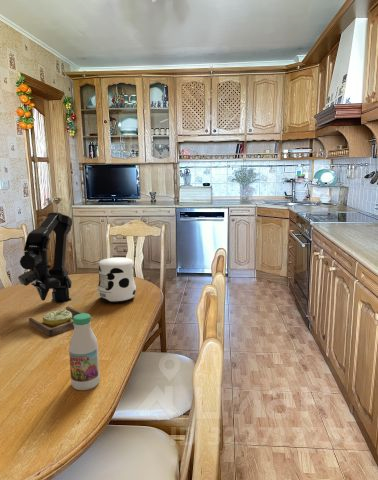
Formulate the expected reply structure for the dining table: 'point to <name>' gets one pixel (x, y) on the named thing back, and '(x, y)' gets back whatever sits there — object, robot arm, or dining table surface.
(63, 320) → the decorated donut
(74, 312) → the u-shaped brown rail
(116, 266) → the milk container
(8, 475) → the dining table surface
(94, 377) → the milk bottle
